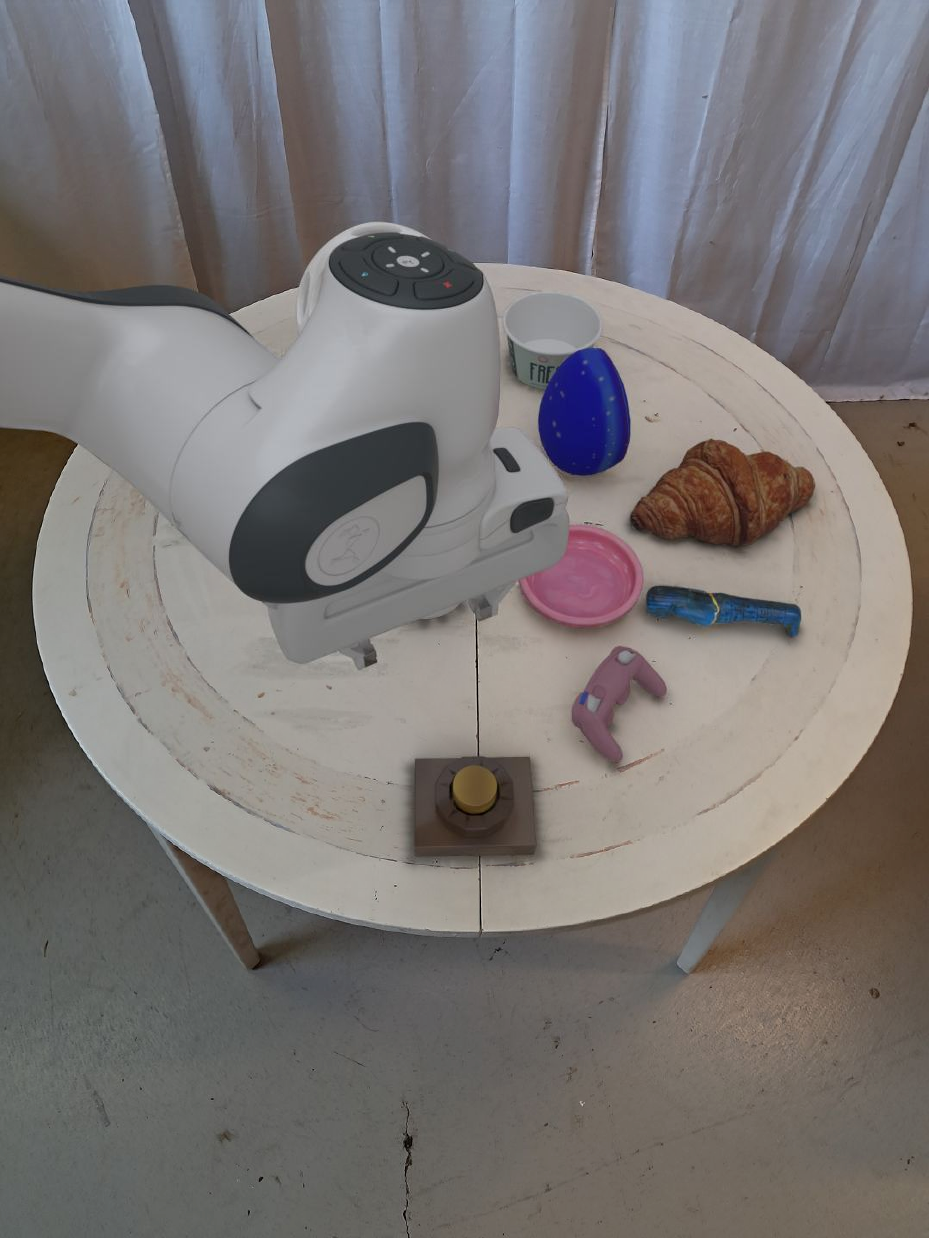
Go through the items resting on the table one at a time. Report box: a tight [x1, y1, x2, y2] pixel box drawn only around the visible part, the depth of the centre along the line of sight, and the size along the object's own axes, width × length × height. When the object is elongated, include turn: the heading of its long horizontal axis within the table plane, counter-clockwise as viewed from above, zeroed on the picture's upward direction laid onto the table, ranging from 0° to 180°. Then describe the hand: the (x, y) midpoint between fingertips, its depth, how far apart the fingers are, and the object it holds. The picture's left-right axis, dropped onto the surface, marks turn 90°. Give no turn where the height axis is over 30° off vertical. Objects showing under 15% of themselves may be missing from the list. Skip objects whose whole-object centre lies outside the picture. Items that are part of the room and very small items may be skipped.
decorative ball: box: [295, 221, 431, 336], centre depth 101 cm, size 20×20×17 cm
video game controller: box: [570, 645, 668, 763], centre depth 80 cm, size 10×5×7 cm, turn 145°
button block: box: [413, 755, 537, 858], centre depth 74 cm, size 10×8×4 cm
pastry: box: [629, 438, 817, 548], centre depth 93 cm, size 17×15×8 cm
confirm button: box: [453, 765, 497, 814], centre depth 72 cm, size 4×4×2 cm
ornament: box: [537, 347, 632, 477], centre depth 94 cm, size 11×9×15 cm
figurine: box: [645, 584, 802, 638], centre depth 87 cm, size 5×4×15 cm
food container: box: [501, 290, 604, 391], centre depth 107 cm, size 12×12×6 cm
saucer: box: [518, 524, 644, 629], centre depth 89 cm, size 12×12×3 cm
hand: (424, 635), depth 63 cm, fingers open, 8 cm apart
